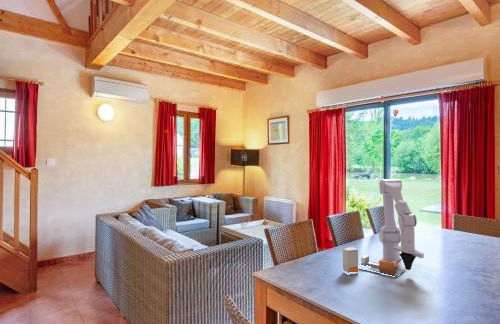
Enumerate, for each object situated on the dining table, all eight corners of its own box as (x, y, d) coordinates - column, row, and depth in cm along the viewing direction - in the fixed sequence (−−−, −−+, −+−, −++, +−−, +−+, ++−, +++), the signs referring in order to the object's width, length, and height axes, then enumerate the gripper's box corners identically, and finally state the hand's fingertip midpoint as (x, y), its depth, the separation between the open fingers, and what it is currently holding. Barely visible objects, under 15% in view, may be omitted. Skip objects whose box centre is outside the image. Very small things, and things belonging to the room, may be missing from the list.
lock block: (379, 269, 146) (378, 260, 146) (382, 266, 149) (382, 258, 149) (394, 272, 141) (393, 263, 141) (397, 270, 144) (397, 261, 144)
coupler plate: (366, 262, 159) (366, 253, 159) (404, 271, 145) (404, 260, 145) (356, 268, 150) (356, 258, 150) (396, 278, 137) (395, 267, 137)
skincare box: (347, 275, 141) (347, 250, 141) (342, 272, 145) (342, 248, 145) (359, 274, 143) (358, 249, 143) (353, 271, 147) (353, 246, 147)
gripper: (428, 242, 134) (428, 272, 134) (400, 235, 147) (400, 263, 147) (417, 244, 131) (418, 275, 131) (389, 237, 144) (390, 265, 144)
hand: (408, 269), depth 139 cm, fingers closed
